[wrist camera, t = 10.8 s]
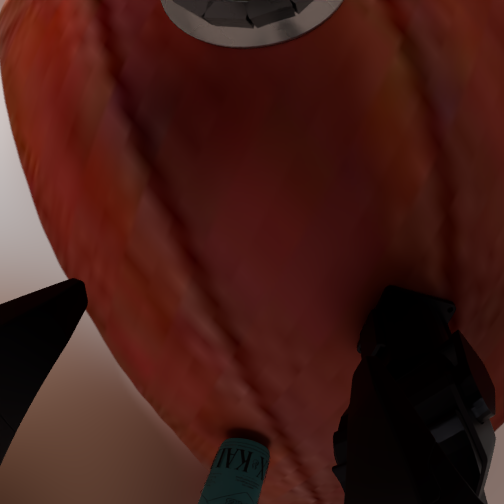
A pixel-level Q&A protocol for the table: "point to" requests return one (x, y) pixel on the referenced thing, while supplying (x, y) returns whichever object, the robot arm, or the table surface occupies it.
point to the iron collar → (249, 20)
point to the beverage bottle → (236, 473)
